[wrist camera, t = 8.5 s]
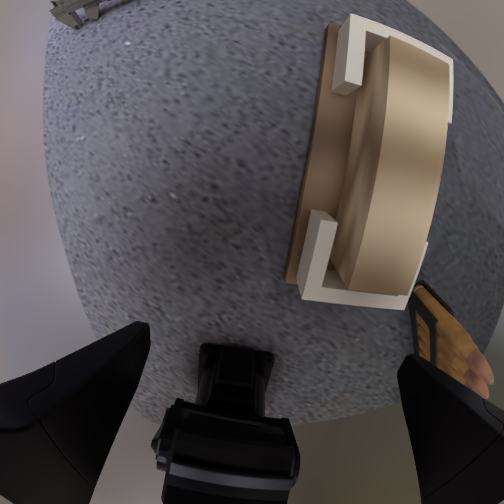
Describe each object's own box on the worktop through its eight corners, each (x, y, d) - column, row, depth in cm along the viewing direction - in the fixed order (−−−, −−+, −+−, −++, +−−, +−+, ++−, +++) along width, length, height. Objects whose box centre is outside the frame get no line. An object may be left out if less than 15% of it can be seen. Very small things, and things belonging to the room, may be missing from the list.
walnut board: (388, 290, 20) (393, 296, 19) (284, 277, 20) (285, 283, 19) (431, 68, 14) (437, 66, 13) (325, 28, 14) (328, 23, 13)
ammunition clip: (406, 288, 20) (484, 383, 9) (423, 279, 20) (506, 366, 9) (415, 365, 24) (460, 448, 12) (429, 357, 23) (477, 437, 12)
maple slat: (377, 263, 19) (407, 295, 14) (327, 255, 18) (348, 289, 14) (409, 79, 14) (449, 64, 9) (359, 60, 14) (390, 35, 9)
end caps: (388, 290, 19) (404, 310, 16) (296, 278, 19) (301, 299, 16) (430, 67, 13) (452, 59, 10) (338, 31, 13) (350, 13, 10)
